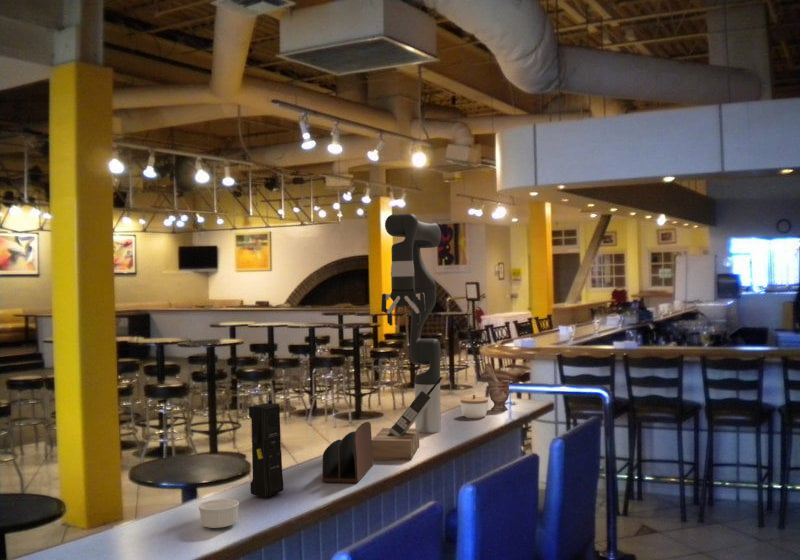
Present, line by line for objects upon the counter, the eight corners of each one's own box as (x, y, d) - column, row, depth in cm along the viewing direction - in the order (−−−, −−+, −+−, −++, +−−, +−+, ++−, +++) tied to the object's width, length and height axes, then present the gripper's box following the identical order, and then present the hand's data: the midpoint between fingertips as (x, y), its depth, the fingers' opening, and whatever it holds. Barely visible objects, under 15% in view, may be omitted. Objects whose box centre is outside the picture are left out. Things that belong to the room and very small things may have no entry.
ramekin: (192, 528, 172) (191, 508, 172) (209, 516, 180) (209, 497, 180) (229, 530, 170) (229, 510, 170) (245, 518, 179) (245, 499, 179)
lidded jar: (474, 415, 314) (474, 392, 314) (493, 418, 305) (493, 394, 305) (455, 418, 307) (454, 395, 307) (474, 422, 298) (473, 397, 299)
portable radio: (265, 498, 194) (264, 398, 195) (247, 496, 197) (245, 397, 198) (285, 491, 201) (283, 394, 201) (266, 488, 204) (265, 393, 204)
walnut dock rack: (383, 446, 256) (382, 428, 256) (419, 446, 254) (419, 428, 254) (371, 460, 236) (371, 440, 236) (411, 460, 234) (410, 440, 234)
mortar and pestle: (478, 412, 320) (477, 364, 321) (488, 409, 327) (487, 362, 328) (503, 414, 314) (502, 365, 314) (513, 411, 321) (512, 363, 321)
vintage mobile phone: (388, 430, 243) (437, 370, 251) (389, 434, 247) (437, 375, 255) (397, 438, 242) (446, 377, 250) (398, 441, 246) (446, 382, 254)
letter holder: (373, 466, 228) (372, 418, 228) (357, 483, 209) (356, 430, 209) (340, 465, 230) (339, 418, 230) (321, 482, 210) (320, 430, 211)
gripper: (425, 274, 255) (426, 324, 255) (383, 275, 258) (384, 324, 258) (423, 274, 248) (424, 325, 248) (379, 275, 250) (380, 326, 250)
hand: (403, 325), depth 253 cm, fingers open, 8 cm apart
